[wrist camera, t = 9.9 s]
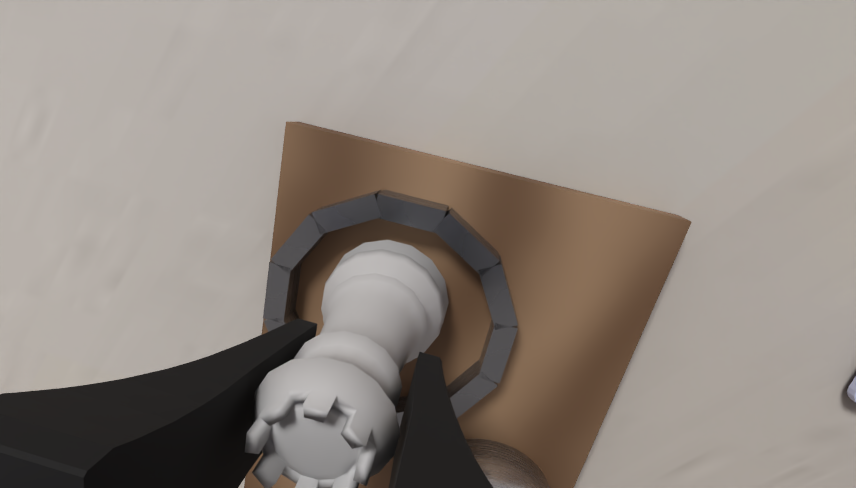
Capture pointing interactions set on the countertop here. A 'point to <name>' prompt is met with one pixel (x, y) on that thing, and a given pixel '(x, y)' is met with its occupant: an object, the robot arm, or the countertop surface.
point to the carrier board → (526, 275)
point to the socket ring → (420, 216)
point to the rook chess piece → (349, 371)
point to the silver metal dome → (506, 465)
